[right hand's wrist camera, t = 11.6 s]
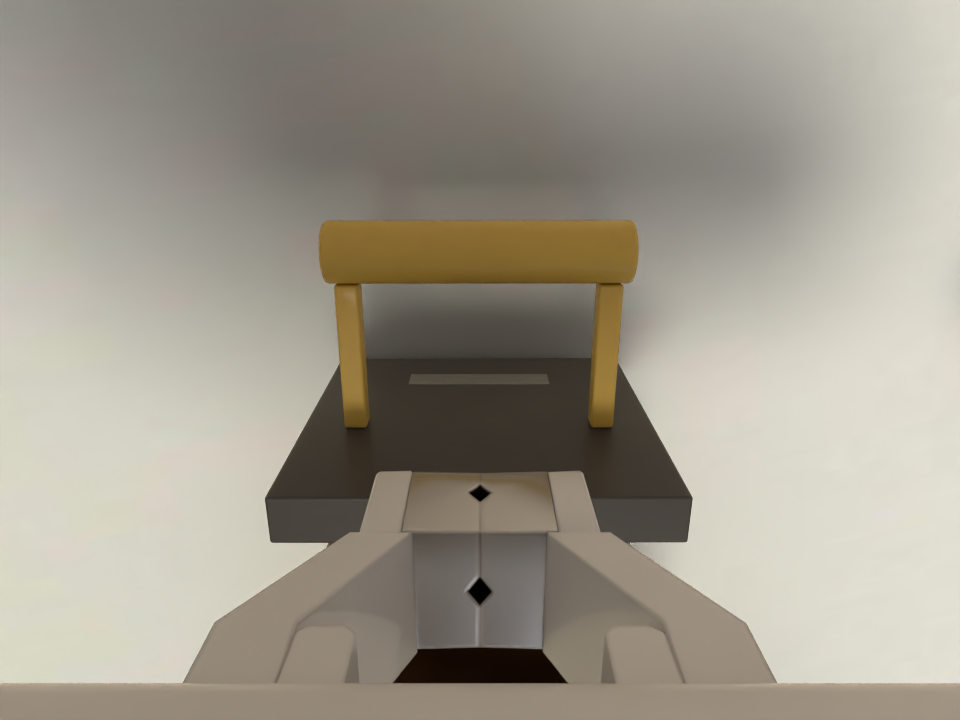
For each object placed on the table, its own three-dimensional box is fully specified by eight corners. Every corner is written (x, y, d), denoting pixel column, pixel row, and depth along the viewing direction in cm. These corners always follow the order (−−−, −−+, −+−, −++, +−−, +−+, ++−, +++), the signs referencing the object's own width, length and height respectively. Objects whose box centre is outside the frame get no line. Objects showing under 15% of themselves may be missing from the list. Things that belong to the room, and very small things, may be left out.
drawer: (329, 195, 21) (231, 250, 13) (628, 195, 21) (724, 249, 13) (374, 783, 30) (333, 1042, 22) (584, 782, 30) (625, 1041, 22)
